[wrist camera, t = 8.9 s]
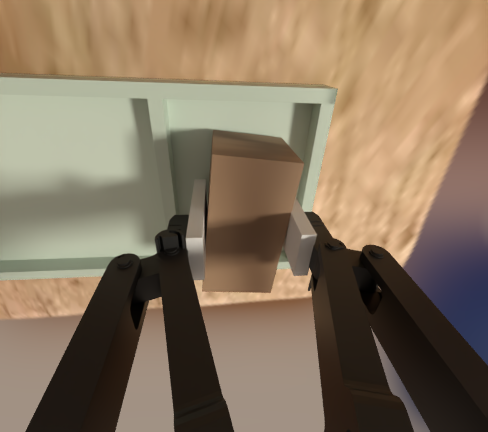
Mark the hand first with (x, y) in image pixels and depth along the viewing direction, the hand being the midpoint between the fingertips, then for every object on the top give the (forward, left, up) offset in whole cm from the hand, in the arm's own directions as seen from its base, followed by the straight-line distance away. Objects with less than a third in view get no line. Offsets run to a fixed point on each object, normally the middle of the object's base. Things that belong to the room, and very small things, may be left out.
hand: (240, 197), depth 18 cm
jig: (0, -8, -2) cm, 8 cm away
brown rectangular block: (0, 0, -1) cm, 1 cm away
